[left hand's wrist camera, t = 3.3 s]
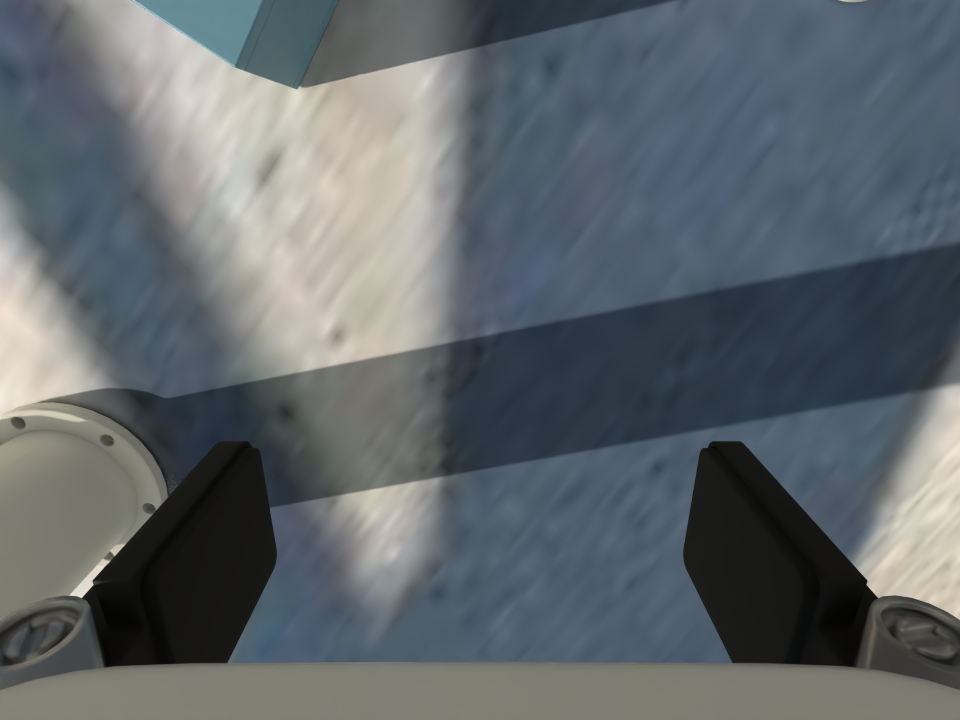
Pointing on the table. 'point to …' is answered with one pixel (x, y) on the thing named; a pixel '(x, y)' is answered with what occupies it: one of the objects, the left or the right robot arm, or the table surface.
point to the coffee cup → (853, 0)
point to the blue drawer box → (252, 31)
